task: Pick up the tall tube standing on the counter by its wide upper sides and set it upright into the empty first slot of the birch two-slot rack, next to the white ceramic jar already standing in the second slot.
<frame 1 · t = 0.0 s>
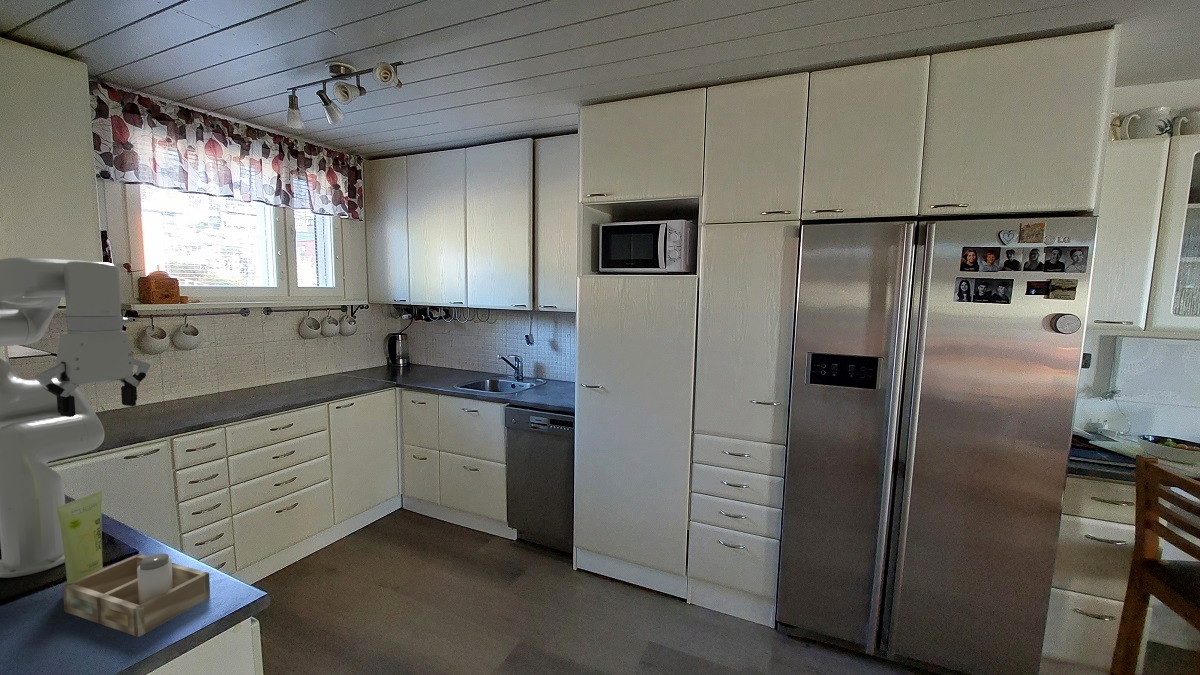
hand: (99, 410, 98), 37 cm above the countertop, tool pointing down, fingers open, 9 cm apart
tube: (84, 592, 99), on the countertop
jar: (156, 609, 93), point 1 cm above the countertop, touching rack
rack: (139, 608, 95), on the countertop
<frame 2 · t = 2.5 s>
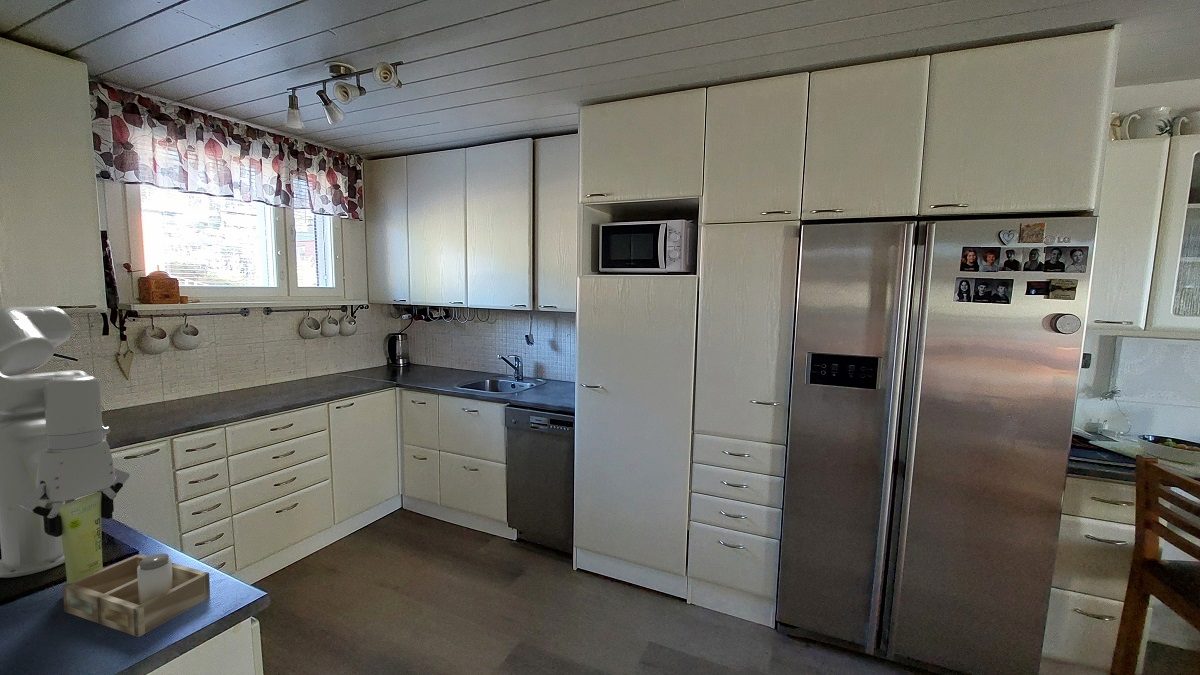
hand: (80, 525, 98), 14 cm above the countertop, tool pointing down, fingers closed on tube, 7 cm apart
tube: (85, 592, 99), on the countertop, touching gripper
everything else where it was.
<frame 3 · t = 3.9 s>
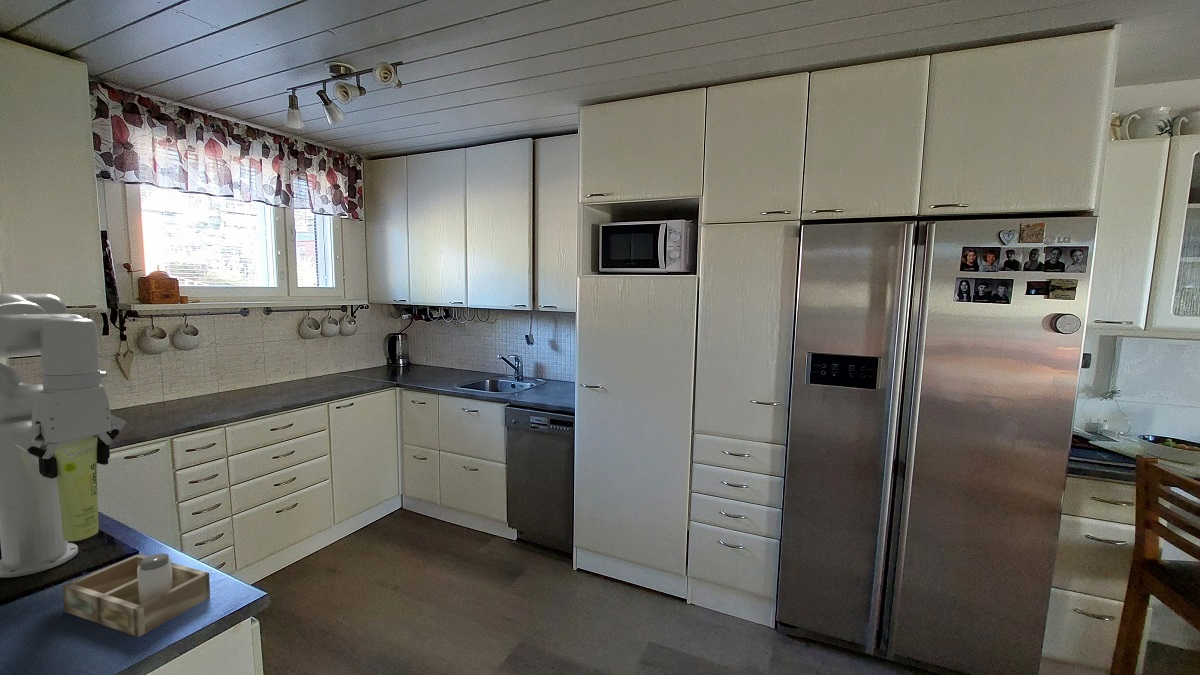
hand: (76, 469, 97), 25 cm above the countertop, tool pointing down, fingers closed on tube, 7 cm apart
tube: (79, 537, 98), point 11 cm above the countertop, touching gripper
everything else where it was.
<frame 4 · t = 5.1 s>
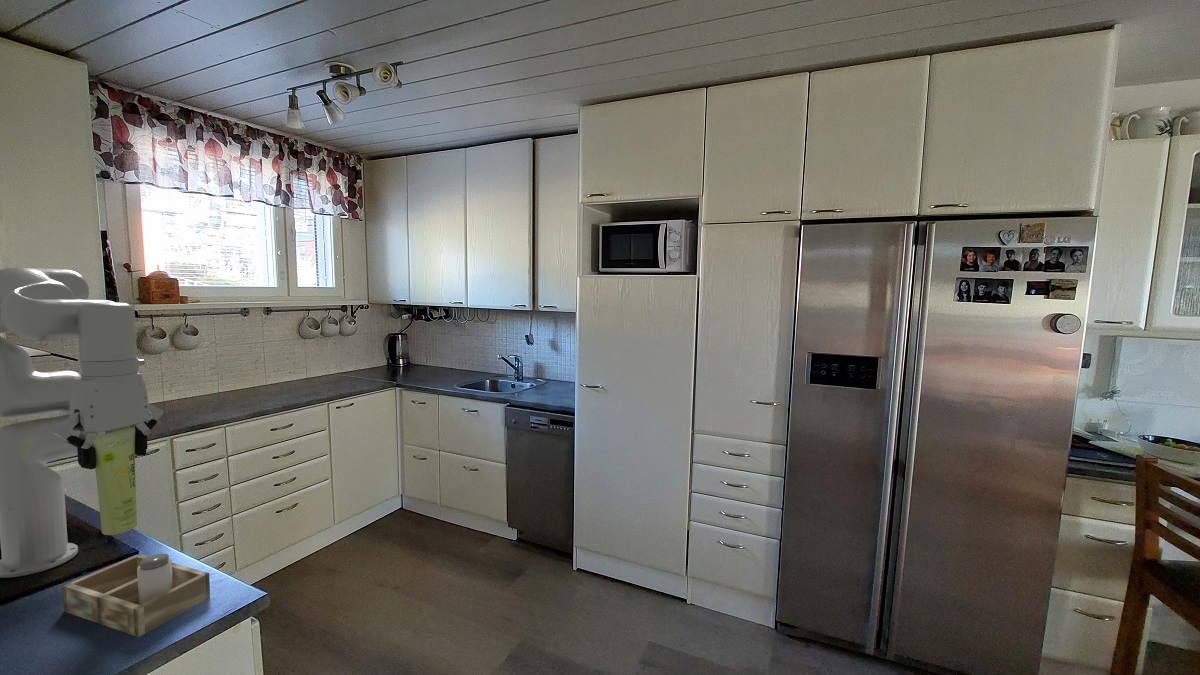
hand: (114, 460, 93), 29 cm above the countertop, tool pointing down, fingers closed on tube, 7 cm apart
tube: (118, 531, 95), point 15 cm above the countertop, touching gripper
everything else where it was.
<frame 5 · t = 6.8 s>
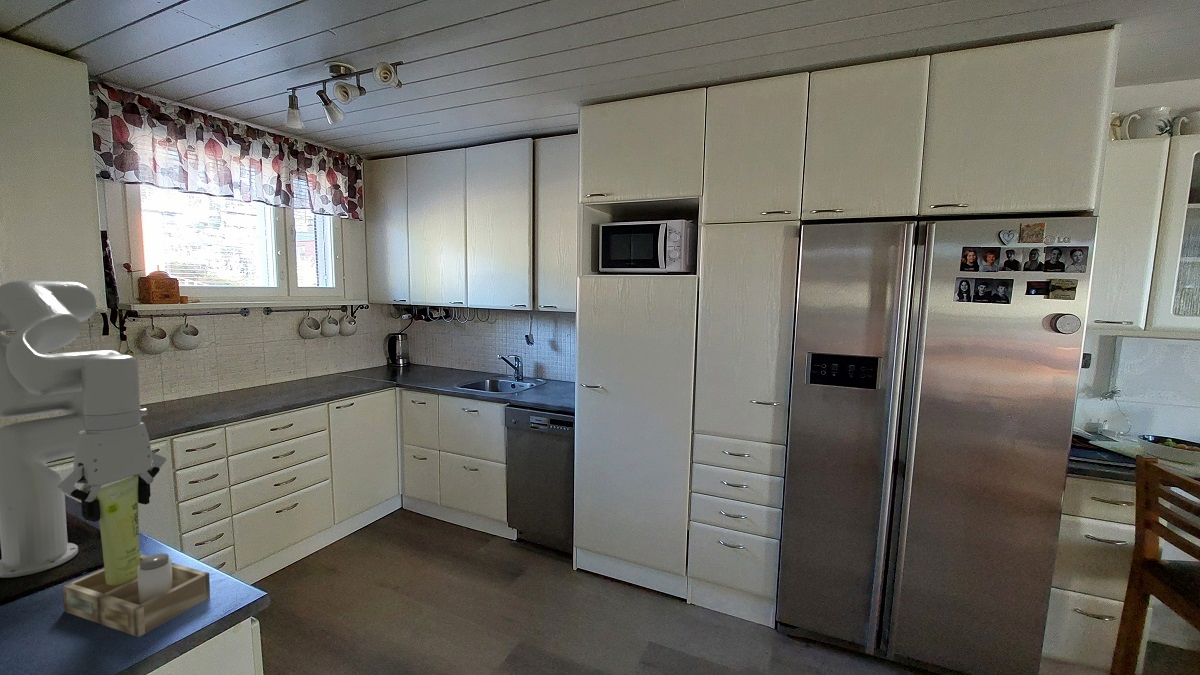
hand: (118, 510, 94), 19 cm above the countertop, tool pointing down, fingers closed on tube, 7 cm apart
tube: (122, 579, 95), point 5 cm above the countertop, touching gripper
everything else where it was.
when the fingers open (16 cm above the countertop, at t = 8.1 s): tube stays where it is, resting on rack.
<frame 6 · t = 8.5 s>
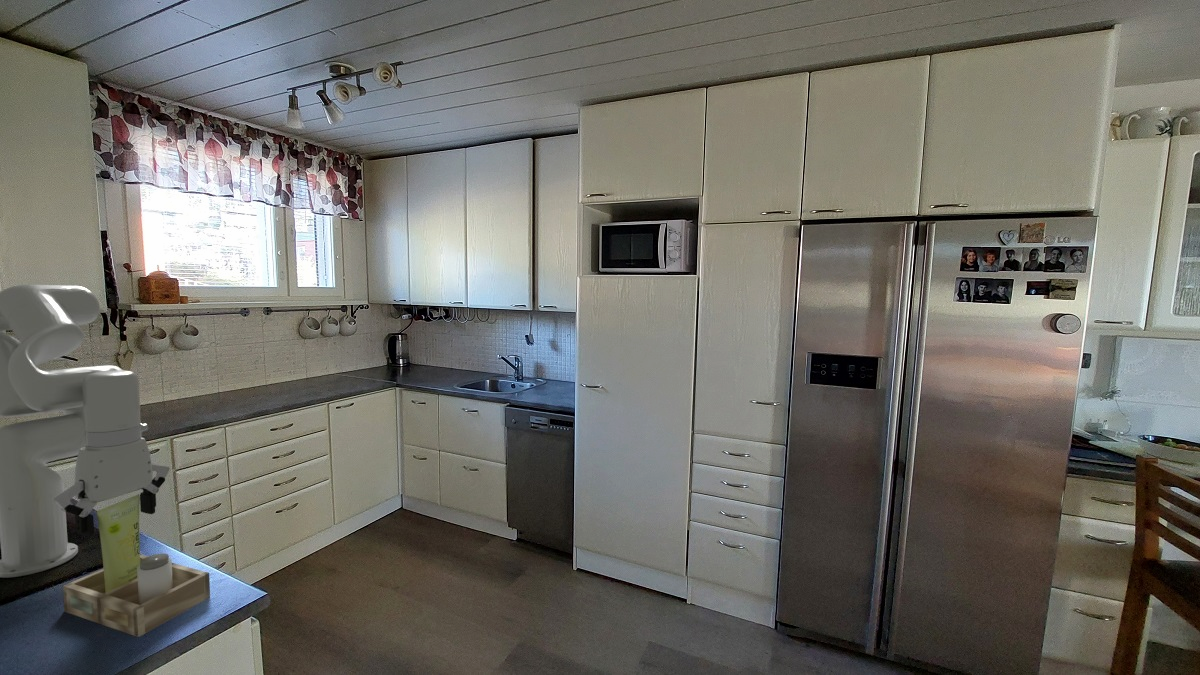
hand: (118, 523, 94), 16 cm above the countertop, tool pointing down, fingers open, 9 cm apart
tube: (122, 598, 96), point 1 cm above the countertop, touching rack
everything else where it was.
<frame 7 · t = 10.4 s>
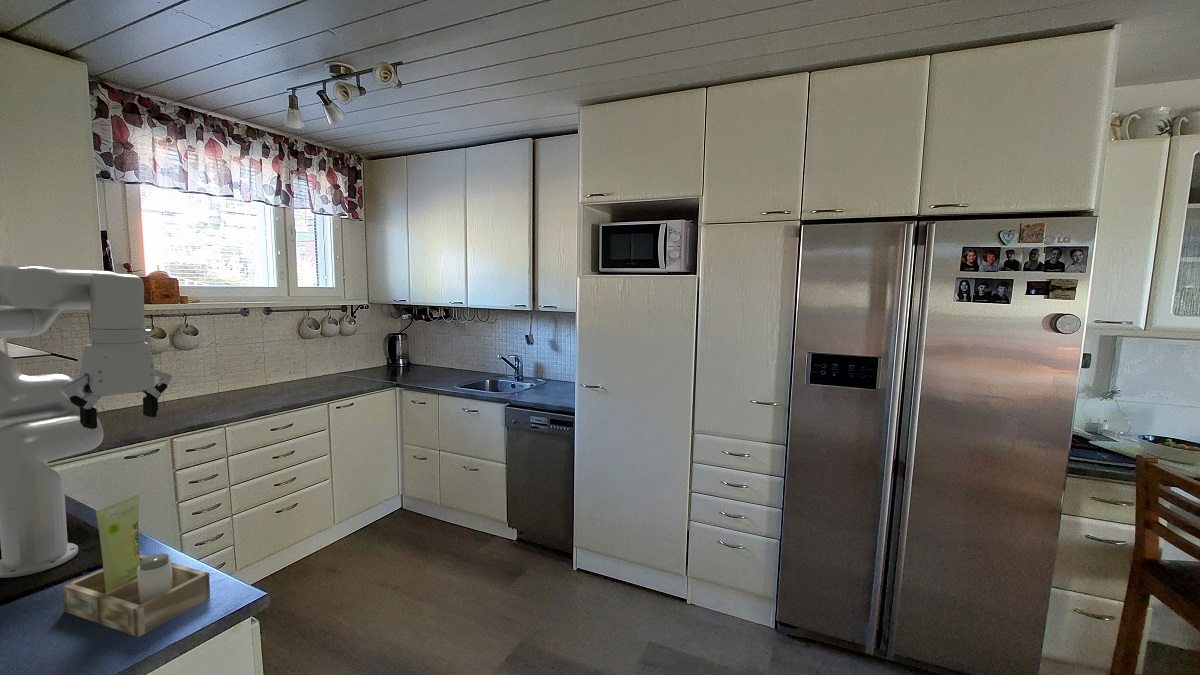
hand: (121, 421, 98), 35 cm above the countertop, tool pointing down, fingers open, 9 cm apart
nothing on the countertop moved.
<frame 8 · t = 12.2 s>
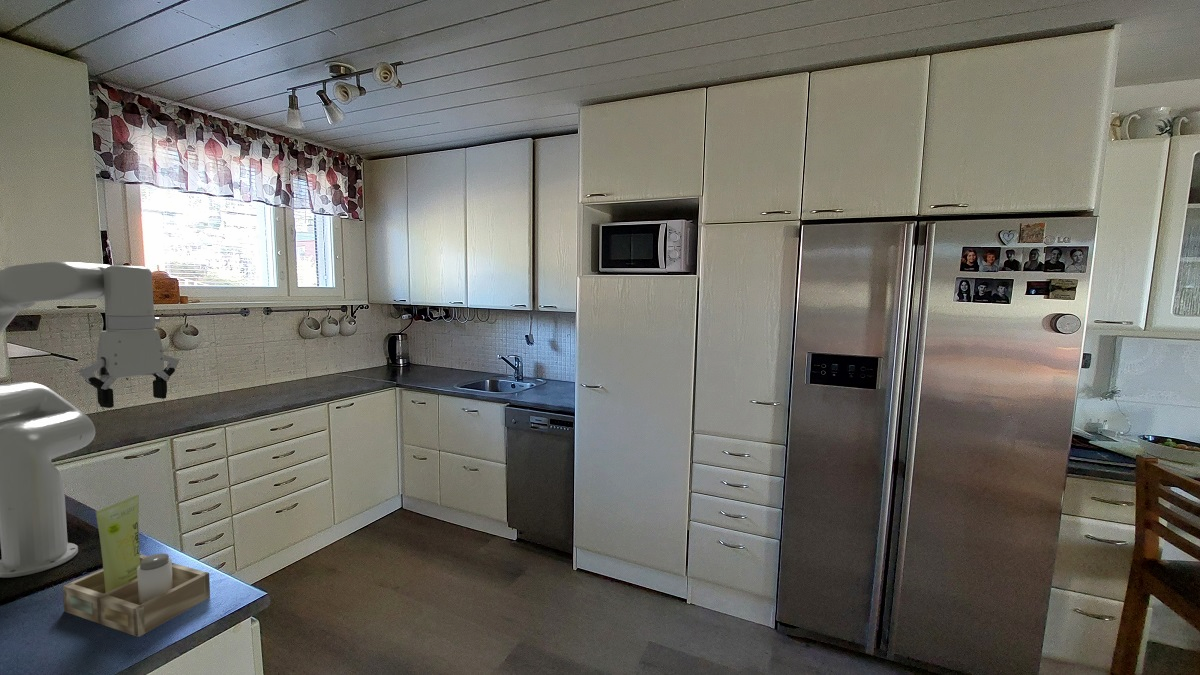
hand: (134, 402, 107), 36 cm above the countertop, tool pointing down, fingers open, 9 cm apart
nothing on the countertop moved.
at the end: tube inside the target area on the rack (0.3 cm from its centre), point 0.8 cm above the rack's base; tube tilted 0°; the gripper is holding nothing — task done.
